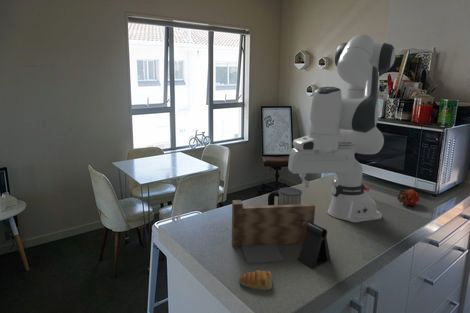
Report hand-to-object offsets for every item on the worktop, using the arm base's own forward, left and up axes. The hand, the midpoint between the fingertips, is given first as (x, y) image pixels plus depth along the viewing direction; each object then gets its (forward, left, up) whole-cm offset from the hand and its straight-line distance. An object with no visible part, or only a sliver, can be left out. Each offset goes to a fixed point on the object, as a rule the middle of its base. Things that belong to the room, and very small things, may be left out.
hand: (319, 186), depth 105 cm
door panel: (+10, -12, -25) cm, 30 cm away
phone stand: (0, 0, -25) cm, 25 cm away
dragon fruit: (-64, -44, -25) cm, 82 cm away
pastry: (+21, +11, -26) cm, 35 cm away
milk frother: (+4, -25, -25) cm, 36 cm away
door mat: (+16, -6, -25) cm, 30 cm away
